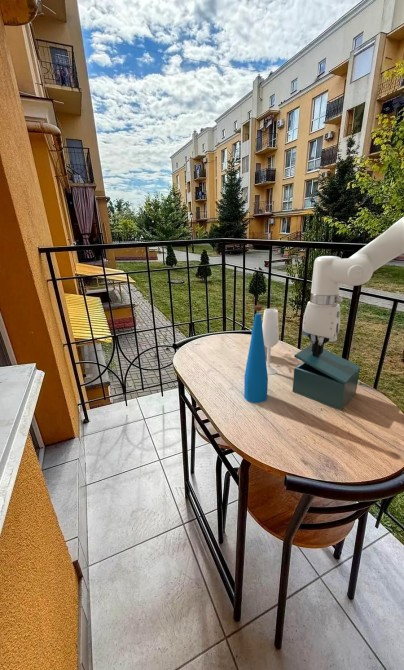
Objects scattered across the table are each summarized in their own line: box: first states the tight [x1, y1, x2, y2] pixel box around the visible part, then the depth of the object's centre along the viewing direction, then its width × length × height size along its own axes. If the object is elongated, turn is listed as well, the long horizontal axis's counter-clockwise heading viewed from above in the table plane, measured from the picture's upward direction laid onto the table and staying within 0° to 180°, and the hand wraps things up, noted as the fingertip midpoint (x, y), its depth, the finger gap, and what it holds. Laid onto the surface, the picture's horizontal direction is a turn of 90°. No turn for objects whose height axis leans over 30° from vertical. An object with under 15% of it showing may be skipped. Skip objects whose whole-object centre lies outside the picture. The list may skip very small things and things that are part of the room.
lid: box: [293, 343, 361, 384], centre depth 88 cm, size 16×13×1 cm
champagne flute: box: [262, 308, 280, 376], centre depth 104 cm, size 7×7×24 cm
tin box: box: [291, 361, 361, 411], centre depth 91 cm, size 16×13×9 cm
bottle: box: [243, 304, 269, 404], centre depth 86 cm, size 7×7×30 cm
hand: (316, 354), depth 90 cm, fingers closed
